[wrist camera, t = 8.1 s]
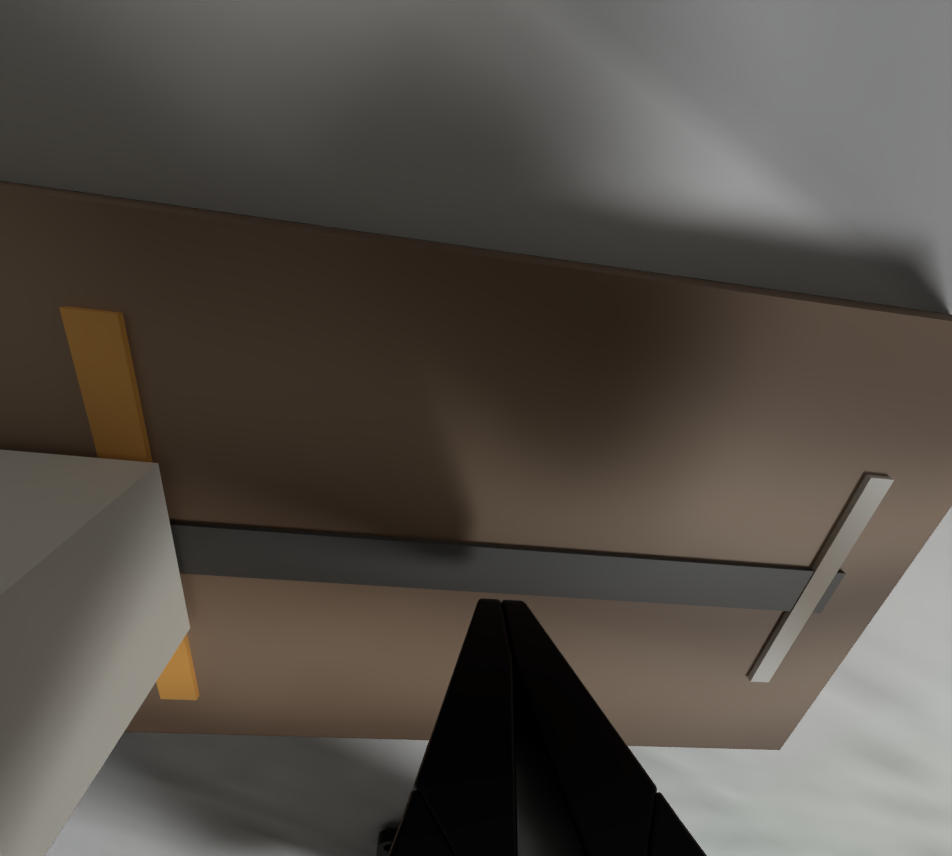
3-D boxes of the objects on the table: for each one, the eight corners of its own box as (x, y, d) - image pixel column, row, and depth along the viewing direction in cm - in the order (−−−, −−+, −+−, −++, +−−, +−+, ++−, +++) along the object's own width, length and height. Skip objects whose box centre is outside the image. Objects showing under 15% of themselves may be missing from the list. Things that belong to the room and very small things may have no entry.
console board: (738, 683, 15) (782, 754, 13) (-431, 632, 11) (-611, 717, 9) (952, 314, 9) (1078, 339, 8) (-1044, 34, 6) (-1703, -47, 4)
